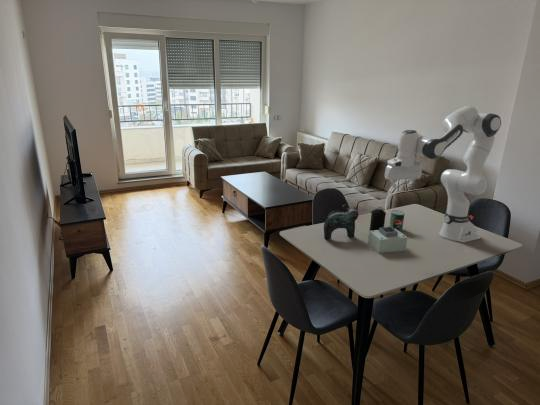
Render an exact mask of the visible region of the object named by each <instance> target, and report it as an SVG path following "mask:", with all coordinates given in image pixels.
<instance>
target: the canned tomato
mask: <svg viewBox="0 0 540 405" xmlns="http://www.w3.org/2000/svg"><path fill="white" fill-rule="evenodd" d="M404 220H405V212H404V211H402V210H398V209H397V210H391V211H390V219H389V224H388V227H392V228H393V229H397V230H398V231H399V232H402V231H403V226H404Z"/></svg>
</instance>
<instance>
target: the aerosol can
mask: <svg viewBox="0 0 540 405" xmlns="http://www.w3.org/2000/svg"><path fill="white" fill-rule="evenodd" d="M370 213H371V215H370V216H371V217H370V224H369V231H372V230H379V228H382V227H385V224H386V221H385V220H386V215H387V212H385V210H383V209H382V205H379V204H378V205H377V208H375V209H373V210H371V211H370ZM367 238H369V235H368V237H367Z"/></svg>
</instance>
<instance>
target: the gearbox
mask: <svg viewBox="0 0 540 405" xmlns="http://www.w3.org/2000/svg"><path fill="white" fill-rule="evenodd" d="M368 236H369V238H368V237H367V238H368V240H367V245H368V246H370V247H371V248H372V249H373V250H374V251H376V253H377V254H387V253H398V252H406V249H407V243H408V236H406V235H405V234H403V233H402V231H400V232H399V231H398V230H397V229H393V228H392V227H389V226H384V227H382V228H379V230H372V231H370V230H369V231H368Z"/></svg>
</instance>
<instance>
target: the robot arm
mask: <svg viewBox="0 0 540 405" xmlns="http://www.w3.org/2000/svg"><path fill="white" fill-rule="evenodd" d="M501 126H502V120H501V116H499V115H498V114H495V113H488V112H479V111H478V110H477V108H476V107H475V106H473V105H465V106H463V107H460V108H459V109H457V110H454V111H453V112H451V113H450V114H448V115H447V116H446V117H445V118H444V119H443V122H442V127H443V131H444V132H445V133H444V134H443V135H442V136H441V137H439V138H437V137H436V138H433V137H432V138H431V137H427V136H424V135H422V134H420V133H419V132H418V131H417V130H415V129H407V130H406V129H405V130H404V131H402V132H401V133H400V136H399V139H398V145H397V149H398V151H397V154H396V157H394V158H391V159H388V160H387V162H386V163H387V165H386V167H385V170H384V178H385V180H387V181H390V183H391V188H392V189H393V188H395V189H396V188H397V184H396V183H395V181H397V180H409V182H408V183H407V187H408V188H412V186H413V183H414V182H415V180H417V179H421V178H422V172H423V163H422V161H420V160H418V161H416V160H415V157H416V155H419V156H423V157H424V158H427V159H429V160H435V159H438V158H439V157H440V156H442V155H443V153H444V152H445V151H446V149H447V148H448V147H450V146H451V145H452V144H453V143H455V142H456V141H457V140H458V139H459V138H460V137H461V136H462V135H463V134H464V132H465V133H468V134H469V133H472V134H473V138H472V140H471V141H470V144H469V145H468V147H467V149H466V150H465V154H464V155H463V157H462V161H463V163H464V164H465V166H467V168H466V171H463V170H459V169H455V168H454V169H451V168H449V169H446V170H443V172H442V173H441V176H440V182H441V184H442V185H443V186H444V188H445V190H446V193H447V206H446V211H445V214H444V220H443V224H442V226H441V229H440V231H439V235H440V236H441V237H442V238H444V239H447V240H450V241H455V242H459V243H467V242H471V241H476V240H480V239H481V235H480V234H478V233H477V227H476V225H475V224H473V223H472V222H471V221H470V220H473V219H474V216H473V215H469V209H470V200H469V199H468V198H467V197H466V195H465V194H469V195H481V194H483V193H484V192H486V190H487V187H488V182H487V179H486V178H485V176H484V166H485V163H486V162H487V158H488V156H489V154H490V153H491V150H492V148H493V146H494V142H495V136H496V134H497V133H498V132H499V130H500V128H501Z"/></svg>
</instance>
